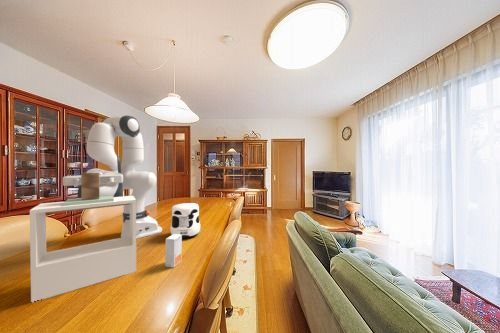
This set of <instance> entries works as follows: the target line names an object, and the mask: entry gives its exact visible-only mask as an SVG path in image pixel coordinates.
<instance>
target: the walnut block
mask: <svg viewBox="0 0 500 333" xmlns="http://www.w3.org/2000/svg"><path fill="white" fill-rule="evenodd" d="M80 175H81V198H82V201H84V200H96V199H99V198H100V183H99V172H96V173H86V172H81V174H80Z"/></svg>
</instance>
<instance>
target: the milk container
mask: <svg viewBox="0 0 500 333" xmlns="http://www.w3.org/2000/svg"><path fill="white" fill-rule="evenodd" d="M199 214H200V207H199V204H198V203H194V202H190V203H189V202H188V203H187V202H186V203H178V204H174V205H172V207H171V224H170V234H171V235H173V234H180V235H182V239H188V238H192V237H194V236H196V235H198V234H199V233H200V231H201V223H200V218H199V217H200V216H199ZM171 235H170V236H171Z"/></svg>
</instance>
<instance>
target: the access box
mask: <svg viewBox="0 0 500 333" xmlns="http://www.w3.org/2000/svg"><path fill="white" fill-rule="evenodd" d="M124 205H130V236H128V237H122V238H121V237H118V238H112V239H107V240H102V241H98V242H93V243H88V244H83V245H78V246H73V247H67V248H62V249H61V248H60V249H57V250H52V251H47V221H46V220H47V215H48V214H57V213H65V212H74V211H82V210H83V211H85V210H93V209H101V208H109V207H111V208H112V207H119V206H124ZM29 249H30V250H29V252H30V255H29V256H30V258H29V259H30V303H31V302H32V303H35V302H34V301H36V302H38V301H37V300H39V301H42V300H46V299H48V298H53V297H55V296H58V295H59V296H60V295H62V294H65V293H69V292H72V291H75V290H78V289H82V288H86V287H89V286H92V285H96V284H99V283H102V282H105V281H109V280H112V279H116V278H119V277H122V276H125V275H130V274H133V273H136V272H137V239H136V199H135V198H134V197H133V196H129V195H124V196H123V197H113V196H101V197H100V198H99V199H96V200H84V201H82V198H78V197H77V198H67V199H66V200H65V201H56V202H45V203H43V202H42V203H39V204H38V205H35V206H34V207H32V208H31V209H30V210H29ZM41 299H42V300H41Z"/></svg>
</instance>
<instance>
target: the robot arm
mask: <svg viewBox="0 0 500 333" xmlns="http://www.w3.org/2000/svg"><path fill="white" fill-rule="evenodd" d="M140 129H141V128H140V123H139V120H137V118H136V117H134V116H131V115H115V116H111V117H106V118H103V119H102V120H101V121H100V122H95V123H94V124H92V126H91V127H90V130H89V133H88V136H87V141H86V153H87V155H88V157H90V158H91V159H93V160H94V161H96V162H99V163H101V164H102V165H103V164H104V165H106V166H108V167H109V169H111V170H105V169H101V168H98V167H96V168H90V169H88V170H87V171H86V172H85V173H96V172H99V183H100V197H101V196H113V197H123V196H125V191H124V190H132V192H131V194H130V195H128V196H133V197H134V198H135V199H136V240H138V239H141V238H145V237H149V236H152V235H157V234H160V233H162V232H163V228H162V226H160V225H159V223H158V221H157V219H155V218H153V217H152V216H149V215H150V214H151V211H148V210H147V209H145V203H146V202H145V201H146V197H147V194H148V193H149V191H151V189H152V188H154V187H155V186H156V184H157V181H158V180H157V176H156V175H155V173H154V172H152V171H151V172H150V171H145V170H140V171H139V170H138V171H136V168H137V166H139V165H141V164H143V163H144V160H145V148H144V145H145V144H144V140H143V138H144V137H143V135H142V133H141V132H140ZM117 137H120V138H121V140H122V158H120V156H118V155H117V153H116V151H115V143H116V142H115V141H116V138H117ZM62 186H64V187H67V186H68V187H69V186H70V187H71V186H78V190H77V198H81V174H80V175H67V176H63V177H62ZM121 218H122V222H123V223H122V227H121V228H122V229H121V233H120V235H119V236H120V237H119V238H122V237H128V236H130V205H123V212H122V217H121Z"/></svg>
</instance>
